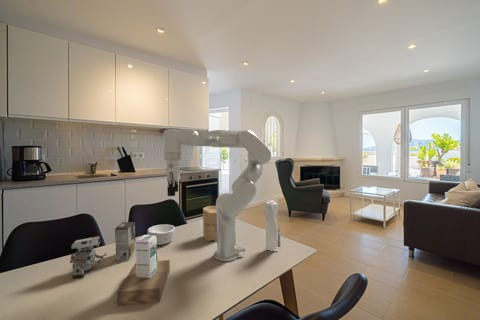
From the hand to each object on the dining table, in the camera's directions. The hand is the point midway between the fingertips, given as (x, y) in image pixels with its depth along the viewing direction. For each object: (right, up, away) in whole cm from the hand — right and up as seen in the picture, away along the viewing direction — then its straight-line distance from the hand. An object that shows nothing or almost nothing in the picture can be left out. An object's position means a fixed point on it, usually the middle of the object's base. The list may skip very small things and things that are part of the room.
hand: (173, 193), depth 103 cm
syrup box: (-6, -29, -15) cm, 34 cm away
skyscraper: (+48, -33, +18) cm, 61 cm away
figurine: (-35, -34, -5) cm, 49 cm away
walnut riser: (-6, -34, -15) cm, 38 cm away
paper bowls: (-15, -32, +27) cm, 44 cm away
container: (+15, -32, +33) cm, 48 cm away
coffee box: (-26, -33, +9) cm, 43 cm away
